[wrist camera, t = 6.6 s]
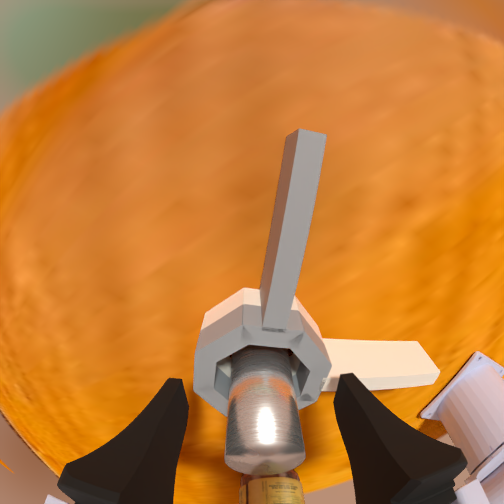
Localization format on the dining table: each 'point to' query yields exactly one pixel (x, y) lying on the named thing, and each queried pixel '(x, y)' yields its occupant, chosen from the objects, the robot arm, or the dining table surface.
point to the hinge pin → (262, 413)
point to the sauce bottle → (271, 489)
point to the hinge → (296, 308)
